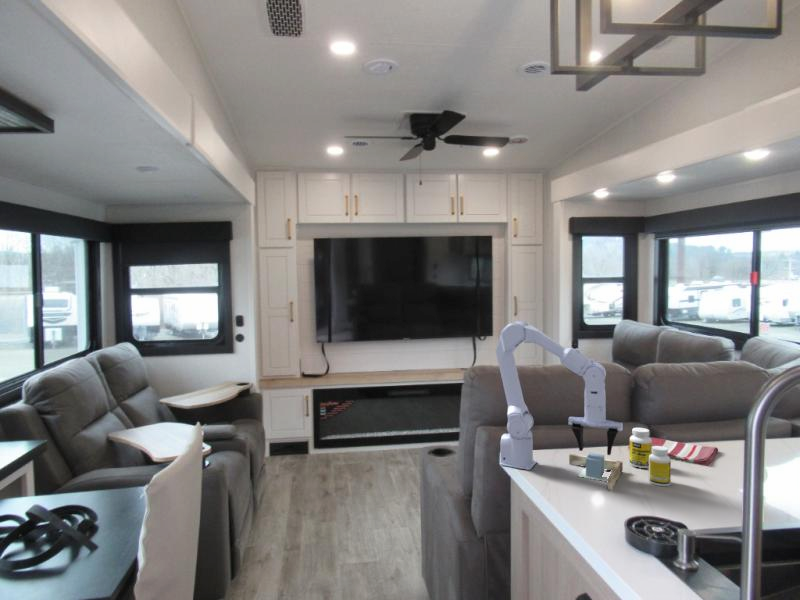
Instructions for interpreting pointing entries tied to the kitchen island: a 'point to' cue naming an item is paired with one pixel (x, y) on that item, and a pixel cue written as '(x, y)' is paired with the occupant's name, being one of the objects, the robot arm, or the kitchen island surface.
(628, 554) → the kitchen island surface
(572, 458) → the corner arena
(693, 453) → the dish towel
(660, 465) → the supplement bottle
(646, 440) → the pill bottle
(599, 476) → the slate block
